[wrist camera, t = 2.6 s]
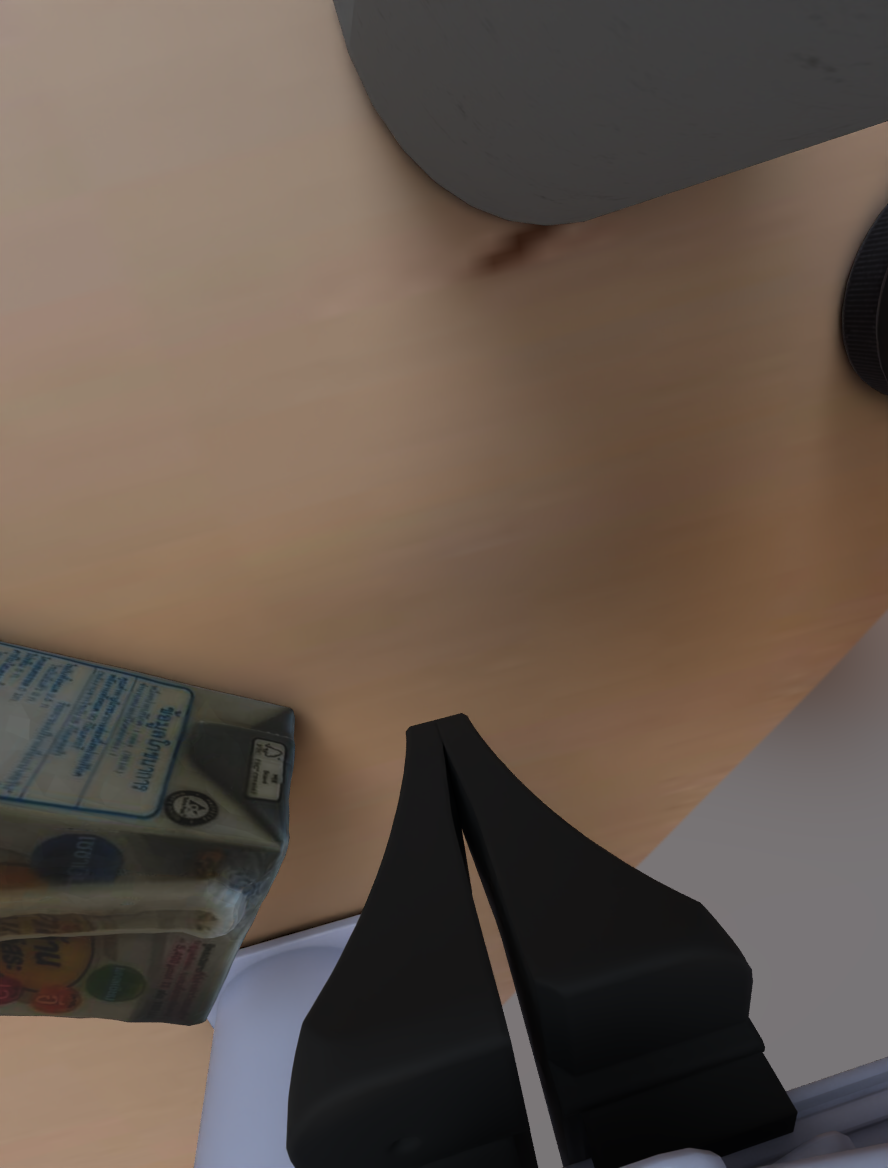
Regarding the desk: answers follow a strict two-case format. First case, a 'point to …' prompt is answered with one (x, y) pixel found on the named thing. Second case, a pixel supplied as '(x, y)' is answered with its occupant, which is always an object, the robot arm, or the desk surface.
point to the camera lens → (869, 308)
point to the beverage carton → (131, 836)
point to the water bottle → (612, 91)
